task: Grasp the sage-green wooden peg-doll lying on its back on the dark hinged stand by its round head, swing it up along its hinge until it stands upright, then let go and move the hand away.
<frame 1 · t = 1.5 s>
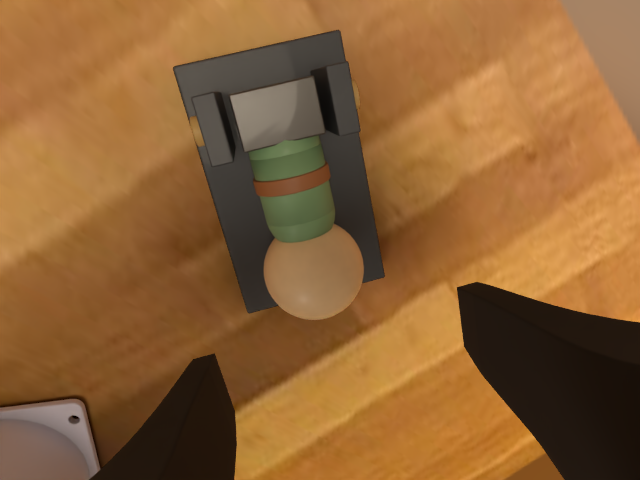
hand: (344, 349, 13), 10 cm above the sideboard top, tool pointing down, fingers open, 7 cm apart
toy stand: (271, 109, 20), on the sideboard top
peg doll: (299, 208, 18), point 3 cm above the sideboard top, hinge at 90.0°
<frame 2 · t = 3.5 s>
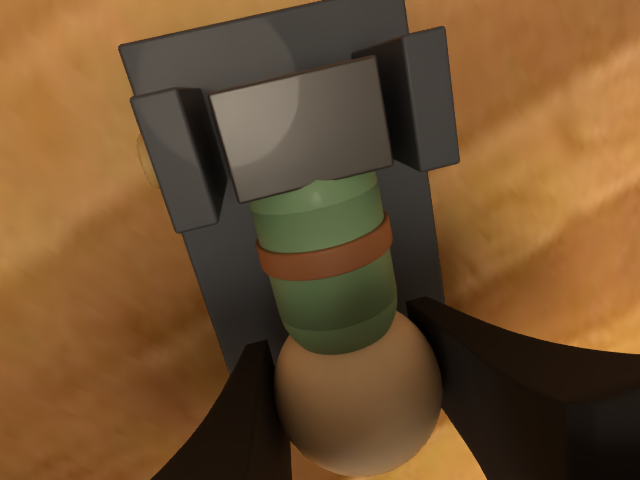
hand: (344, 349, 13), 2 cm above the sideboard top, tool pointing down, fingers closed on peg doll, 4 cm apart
toy stand: (284, 116, 13), on the sideboard top
peg doll: (335, 289, 11), point 4 cm above the sideboard top, hinge at 90.0°, touching gripper
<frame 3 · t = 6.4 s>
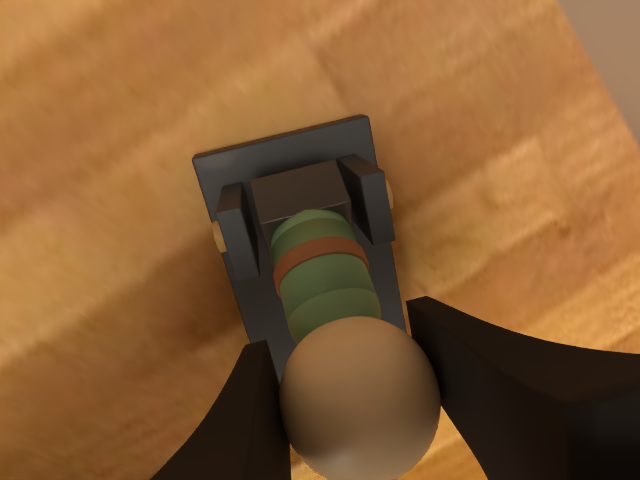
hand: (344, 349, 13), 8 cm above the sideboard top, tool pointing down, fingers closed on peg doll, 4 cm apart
toy stand: (293, 193, 19), on the sideboard top
peg doll: (332, 308, 14), point 7 cm above the sideboard top, hinge at 33.8°, touching gripper
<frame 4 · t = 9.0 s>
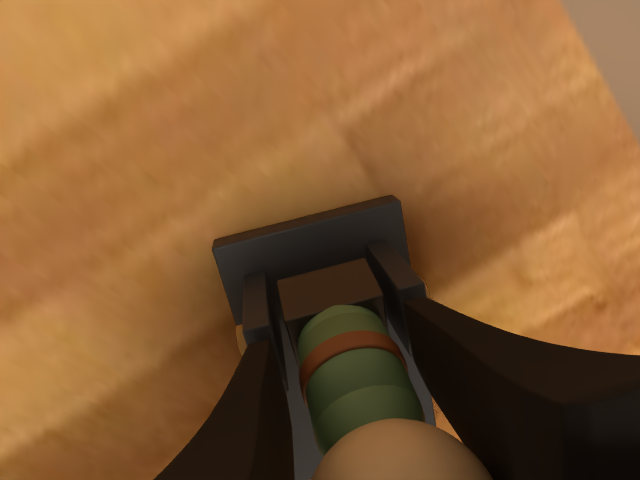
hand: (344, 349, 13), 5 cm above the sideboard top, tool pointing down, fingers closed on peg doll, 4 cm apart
toy stand: (318, 275, 18), on the sideboard top
peg doll: (366, 416, 12), point 7 cm above the sideboard top, hinge at 13.6°, touching gripper
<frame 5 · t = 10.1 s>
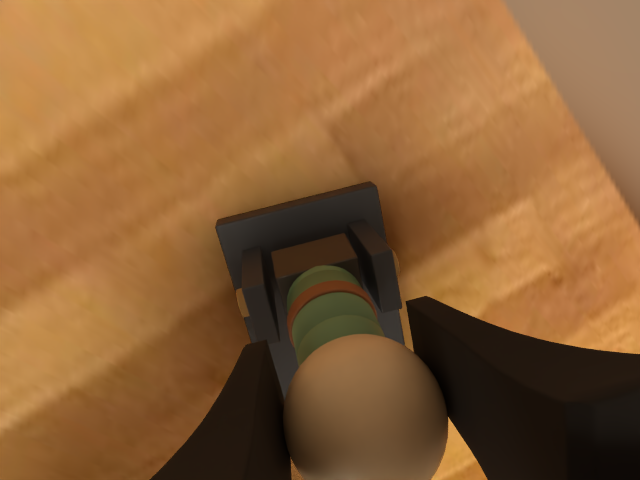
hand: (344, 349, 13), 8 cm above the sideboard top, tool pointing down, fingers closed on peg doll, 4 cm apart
toy stand: (307, 251, 21), on the sideboard top
peg doll: (340, 347, 14), point 7 cm above the sideboard top, hinge at 9.0°, touching gripper
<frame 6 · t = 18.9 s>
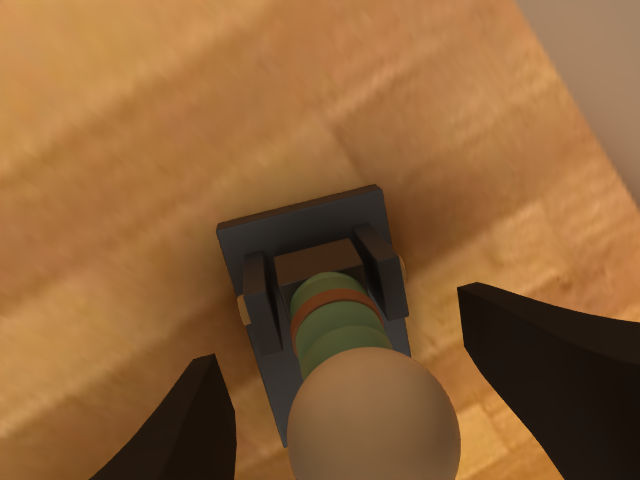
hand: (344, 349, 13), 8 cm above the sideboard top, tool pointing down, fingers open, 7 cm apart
toy stand: (310, 256, 20), on the sideboard top
peg doll: (346, 359, 14), point 7 cm above the sideboard top, hinge at 9.3°
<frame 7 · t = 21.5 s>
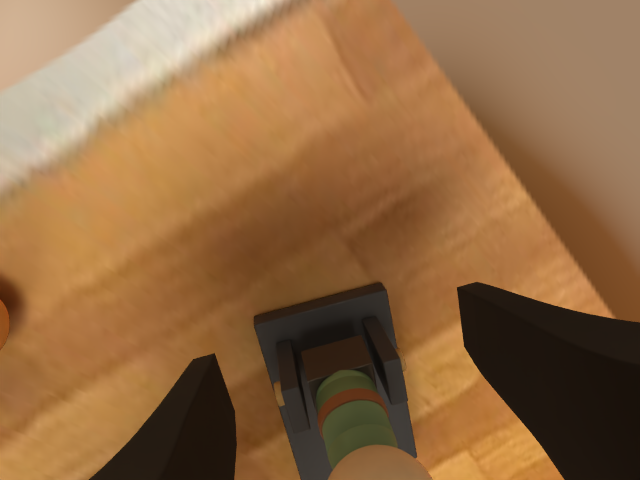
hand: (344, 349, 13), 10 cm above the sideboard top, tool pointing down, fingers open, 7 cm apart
toy stand: (327, 338, 25), on the sideboard top
peg doll: (361, 444, 18), point 7 cm above the sideboard top, hinge at 9.3°
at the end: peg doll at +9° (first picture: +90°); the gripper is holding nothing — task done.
